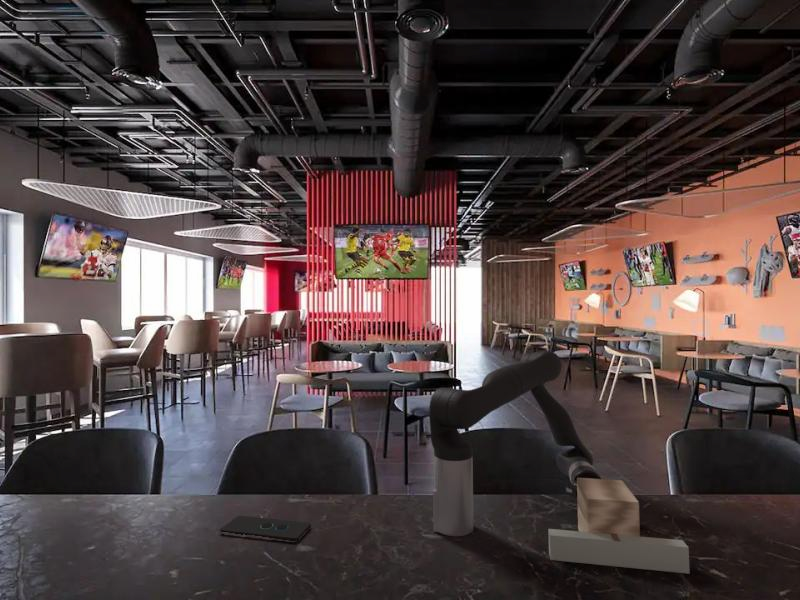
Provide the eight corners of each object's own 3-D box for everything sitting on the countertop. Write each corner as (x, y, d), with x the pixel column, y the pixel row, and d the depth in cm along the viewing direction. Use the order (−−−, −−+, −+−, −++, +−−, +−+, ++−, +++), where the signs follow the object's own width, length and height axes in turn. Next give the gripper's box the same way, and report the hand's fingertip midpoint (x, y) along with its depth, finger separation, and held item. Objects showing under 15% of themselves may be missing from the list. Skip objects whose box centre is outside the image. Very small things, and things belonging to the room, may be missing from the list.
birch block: (589, 556, 94) (587, 498, 95) (578, 528, 107) (576, 477, 108) (640, 561, 92) (638, 502, 93) (623, 532, 105) (621, 480, 105)
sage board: (550, 559, 93) (549, 534, 93) (548, 552, 96) (548, 528, 96) (689, 573, 88) (688, 546, 88) (683, 565, 91) (682, 539, 91)
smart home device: (296, 538, 101) (218, 529, 106) (296, 546, 101) (218, 537, 105) (311, 522, 109) (238, 514, 114) (311, 529, 109) (238, 521, 114)
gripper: (559, 463, 125) (569, 486, 108) (610, 466, 122) (629, 490, 105) (560, 491, 124) (570, 518, 107) (611, 494, 122) (630, 522, 105)
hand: (599, 504), depth 106 cm, fingers closed
